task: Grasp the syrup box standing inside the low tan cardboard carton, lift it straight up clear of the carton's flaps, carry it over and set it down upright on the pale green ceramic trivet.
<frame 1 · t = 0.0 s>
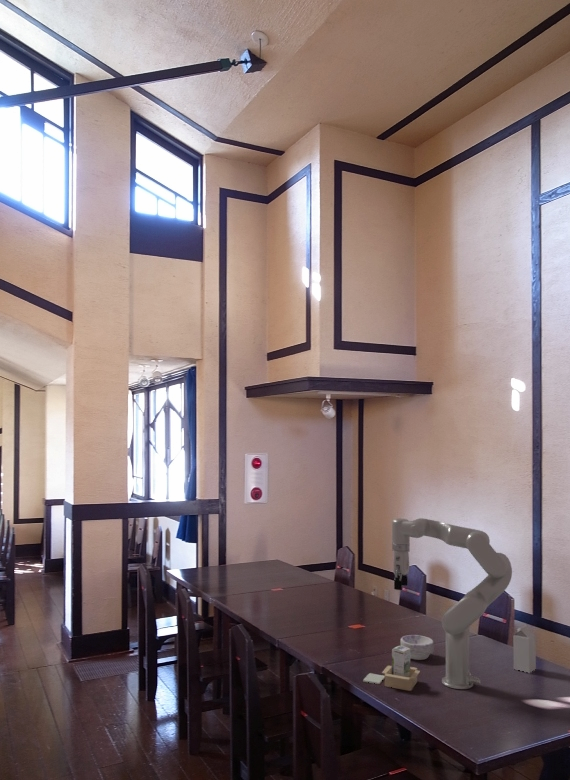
hand: (400, 587, 276), 37 cm above the table, tool pointing down, fingers open, 9 cm apart
carton: (401, 684, 262), on the table
trivet: (374, 679, 267), on the table
milk carton: (524, 670, 281), on the table
syrup box: (401, 684, 262), resting in carton
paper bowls: (417, 657, 296), on the table
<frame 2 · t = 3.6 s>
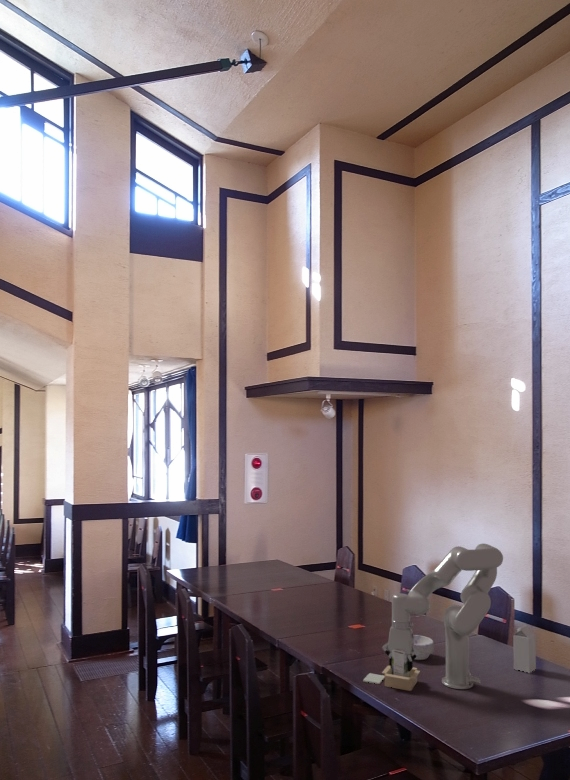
hand: (400, 668, 262), 6 cm above the table, tool pointing down, fingers closed on syrup box, 6 cm apart
syrup box: (401, 684, 262), resting in carton, touching gripper
everything else where it was.
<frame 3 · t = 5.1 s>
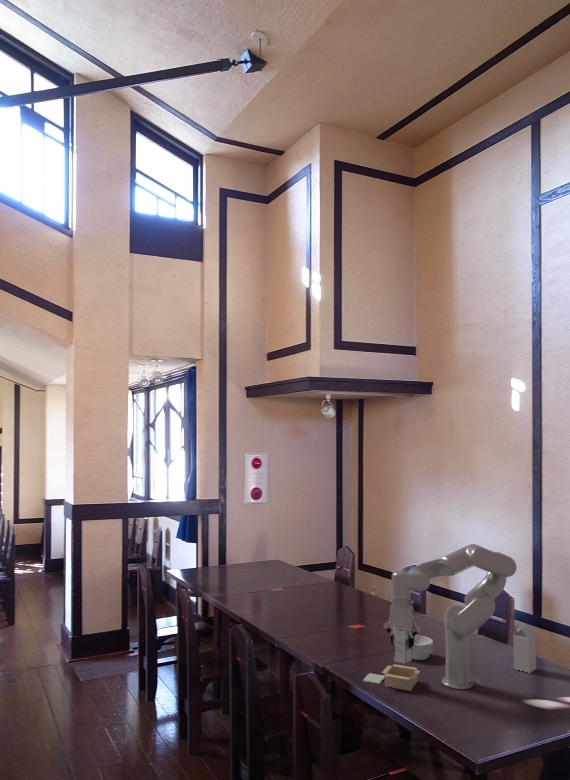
hand: (402, 645, 263), 15 cm above the table, tool pointing down, fingers closed on syrup box, 6 cm apart
syrup box: (403, 661, 263), point 9 cm above the table, touching gripper
everything else where it was.
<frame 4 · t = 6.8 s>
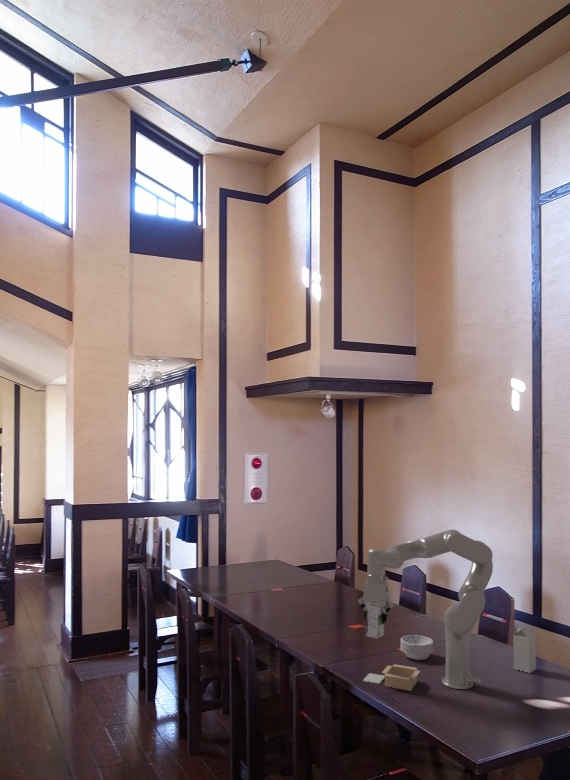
hand: (375, 621, 269), 24 cm above the table, tool pointing down, fingers closed on syrup box, 6 cm apart
syrup box: (375, 636, 268), point 18 cm above the table, touching gripper
everything else where it was.
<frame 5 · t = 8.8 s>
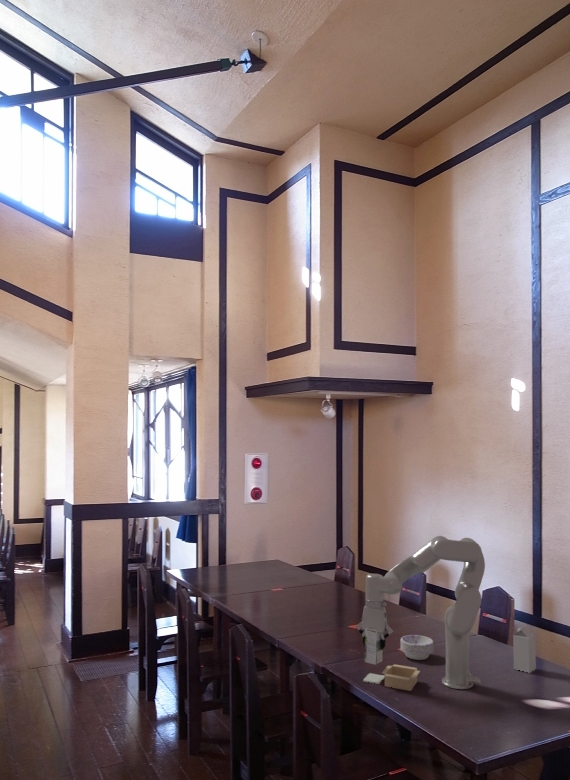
hand: (374, 646, 268), 13 cm above the table, tool pointing down, fingers closed on syrup box, 6 cm apart
syrup box: (373, 662, 267), point 7 cm above the table, touching gripper
everything else where it was.
when the fingers open (8 cm above the table, at t = 10.4 s): syrup box stays where it is, resting on trivet.
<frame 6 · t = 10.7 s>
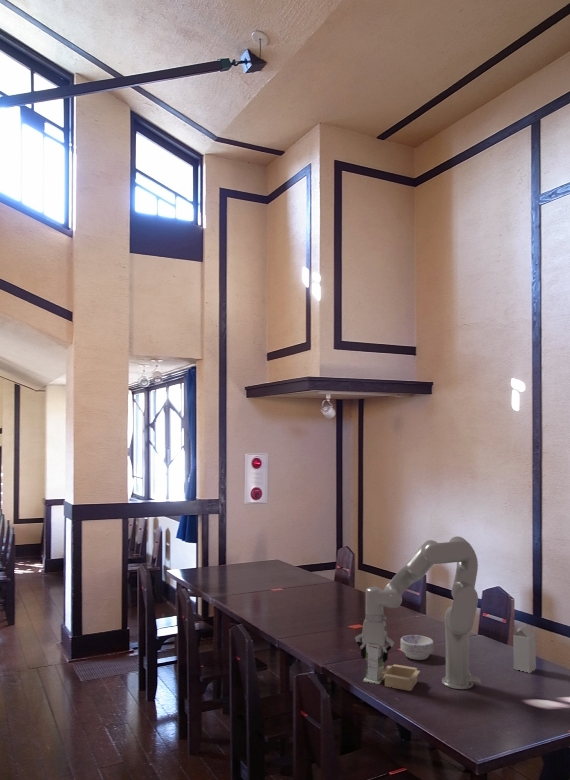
hand: (374, 659, 267), 8 cm above the table, tool pointing down, fingers open, 8 cm apart
syrup box: (375, 678, 267), resting on trivet
everything else where it was.
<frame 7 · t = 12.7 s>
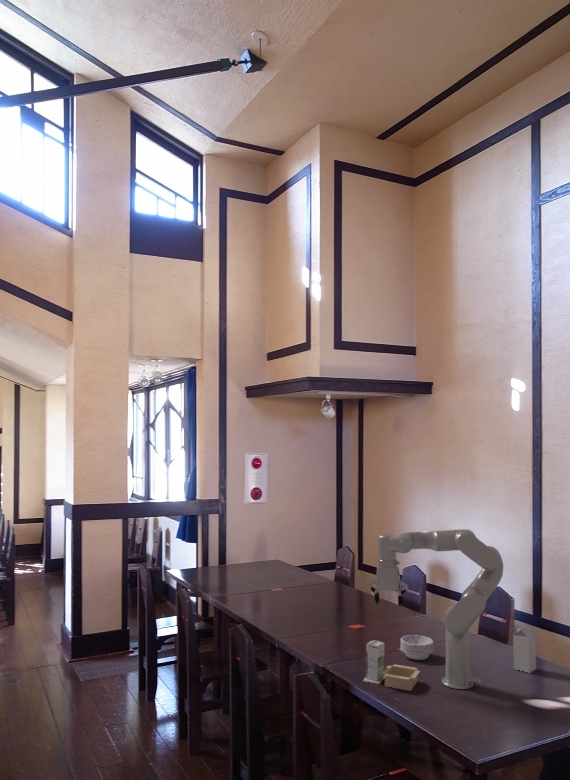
hand: (388, 603, 274), 30 cm above the table, tool pointing down, fingers open, 9 cm apart
nothing on the table moved.
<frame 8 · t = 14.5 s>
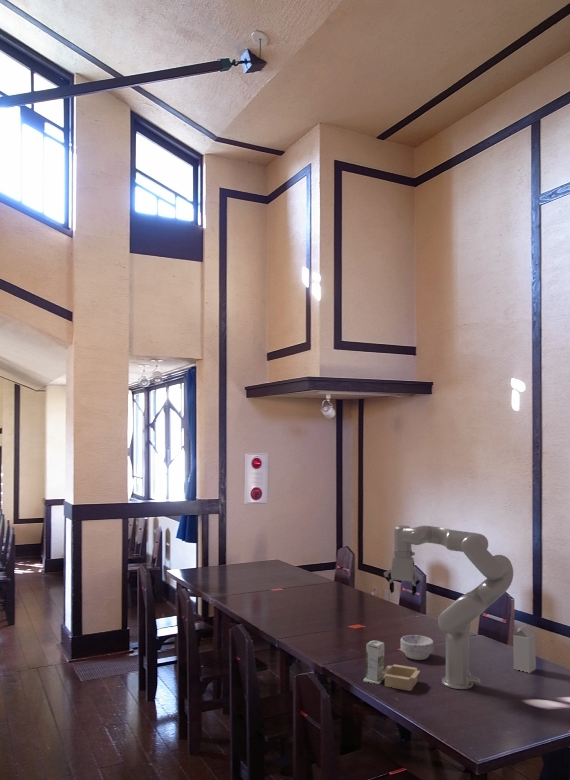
hand: (402, 593, 280), 33 cm above the table, tool pointing down, fingers open, 9 cm apart
nothing on the table moved.
at the end: syrup box inside the target area on the trivet (0.3 cm from its centre), point 0.4 cm above the trivet's base; syrup box tilted 0°; the gripper is holding nothing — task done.
